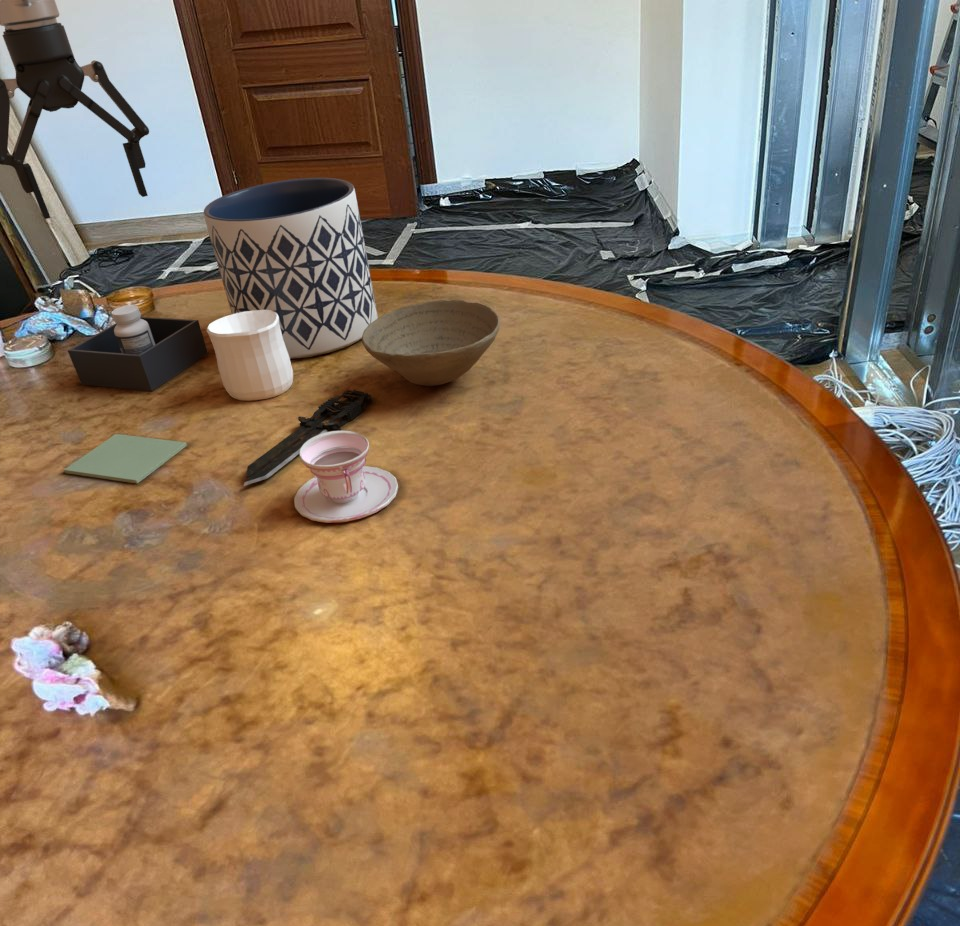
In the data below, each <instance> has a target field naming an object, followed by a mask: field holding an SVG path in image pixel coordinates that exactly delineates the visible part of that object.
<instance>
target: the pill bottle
mask: <svg viewBox="0 0 960 926" xmlns="http://www.w3.org/2000/svg"><path fill="white" fill-rule="evenodd" d="M110 315H111V316H112V319H113V321H114V324H115V323H117V325H116V326H115V328H114V334H115V337H116V339H117V342H118V345H119V347H120V350H121V353H123V354H135V355H140V354H141V353H143V352H144V351H146V350H148V349H149V348H151V347H152V346H154V345H156V344H155V341H154V339H153V336H152V333H151V330H150V327H149V324H148V323H147V322H146V321H145V320H143V319H140V317H142V313H141V310H140V309H139V306H138V305H135V304H127V305H122V306H119V307H116V308H114V309H113V310H112V311H111V314H110Z"/></svg>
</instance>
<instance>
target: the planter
mask: <svg viewBox="0 0 960 926" xmlns="http://www.w3.org/2000/svg"><path fill="white" fill-rule="evenodd" d="M360 215H361V214H360V211H359V205H358V199H357V194H356V189H355V187H354V184H353V183H352V182H350V181H347V180H345V179H340V178H333V177H332V178H331V177H307V178H306V177H305V178H292V179H286V180H278V181H273V182H267V183H263V184H258V185H253V186H249V187H246V188H243V189H238V190H236V191H233V192H229V193H227V194H225V195H222V196H219V197H218V198H216V199H214V200H212V201H211V202H209V203H208V204H206V206H205V207H204V209H203V217H204V221H205V224H206V225H205V226H206V229H207V231H208V236H209V239H210V243H211V246H212V250H213V253H214V257H215V260H216V264H217V267H218V272H219V274H220V278H221V282H222V285H223V289H224V292H225V296H226V300H227V302H228V306H229V310H230V313H231V315H232V314H235V313H240V312H245V311H254V310H271V311H274V312H276V313H277V314H278V316H279V325H280V329H281V333H282V337H283V340H284V343H285V346H286V349H287V352H288V355H289V358H290V360H293V359H294V360H295V359H303V358H304V359H305V358H312V357H317V356H321V355H326V354H329V353H334V352H337V351H339V350H342V349H344V348H347V347H349V346H352V345H354V344H355V343H358V342H359V341H362V336H363V332H364V330H365V329H366V328H367V327H368V326H369V324H371V323H372V322H373V321H375V320H376V319H378V318H379V315H378V310H377V305H376V300H375V293H374V287H373V283H372V275H371V269H370V264H369V260H368V254H367V248H366V243H365V238H364V232H363V227H362V221H361V216H360Z"/></svg>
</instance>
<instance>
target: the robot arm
mask: <svg viewBox="0 0 960 926" xmlns="http://www.w3.org/2000/svg"><path fill="white" fill-rule="evenodd" d="M59 17H60V12H59V9H58V5H57V2H56V0H0V26H1V27H4V31H2V38H3V41H4V43H5V46H6V49H7V51H8V54H9V56H10V59H11V62H12V65H13V69H14V70H15V78H0V165H1V166H10V167H12V168H13V169H14V171H15V173H16V175H17V179H18V181H19V183H20V186H21V188H22V189H23V191H24V192H25V193H26V194H31V193H33V195H34V197H35V200H36V202H37V205H38V208H39V210H40V213H41V215H42V217H43V218H44V220H48V219H51V215H50V212H49V210H48V207H47V205H46V203H45V200H44V197H43V194H42V192H41V190H40V187H39V184H38V182H37V179H36V177H35V174H34V171H33V169H32V166H31V165H30V164H29V162H27V163H25V160H26V157H27V154H28V151H29V148H30V145H31V142H32V139H33V135H34V133H35V130H36V127H37V125H38V121H39V119H40V117H41V114H42V111H43V110H44V111H47V112H50V113H52V112H58V111H59V110H60V109H72V108H75V106H77V105H78V103H80V104H81V105H82V106H84V107H85V108H87V109H88V110H89V111H90V112H92V113H93V114H94V115H95V116H97V117H98V118H99V119H101V121H103V122H104V123H105V124H107V125H108V126H109V127H110V128H112V129H113V130H114V131H115V132H117V133H118V134H119V135H121V136H122V137H123V138H124V139H126V140H127V142H123V143H122V147H123V150H124V153H125V156H126V159H127V163H128V165H129V168H130V171H131V175H132V177H133V180H134V183H135V187H136V190H137V192H138V195H139V196H140V197H142V198H144V197H148V192H147V188H146V186H145V183H144V180H143V177H142V173H141V169H145V168H146V161H145V158H144V154H143V151H142V148H141V145H140V141H141V140H142V138H144V137H145V136H148V135H149V134H150V128H149V127H148V125H147V124H146V123H145V122H144V121H143V120H142V118H141V117H140V116H139V115H138V113H137V112H136V110H134V108H133V107H132V106H131V105H130V104H129V102H128V101H127V100H126V99H125V98H124V96H123V94H121V92H120V91H119V90H118V88H116V86H115V85H114V83H112V82H111V80H110V79H109V76H108V74H107V72H106V69H105V67H104V65H103V63H102V62H101V61H98V60H92V61H91V62H90V63H88V64H85V65H82V66H80V65H79V64H78V63H77V61H76V58H75V55H74V52H73V49H72V46H71V44H70V40H69V37H68V34H67V31H66V28H65V26H64V25H62V22H58V21H57V18H59ZM85 77H89V79H90V80H91V81H92V82H93V83H97V84H99V86H100V87H101V89H102V90H103V91H104V92H105V93H106V95H107V96H108V97H109V98H110V100H112V102H113V103H114V104H115V106H116V107H117V108H118V109H119V111H121V113H122V114H123V115H124V116H125V117H126V119H127V120H128V122H129V123H131V125H132V126H133V128H132V129H130V128H128V127H127V126H126V125H125V124H123V123H122V122H121V121H120V120H118V119H117V118H116V117H115V116H113V115H112V114H111V113H110V112H108V111H107V110H106V109H104V108H103V107H102V106H101V105H100V104H98V103H97V102H96V101H95V100H93V99H92V98H91V97H90V96H89V95H87V94H86V93H85V92H84V91H83V86H84V82H85ZM16 89H19V91H21V92H22V93H23V94H24V95H25V96H27V98H29V101H28V104H27V107H26V112H25V115H24V118H23V121H22V124H21V127H20V130H19V133H18V136H17V139H16V141H15V146H14V148H13V151H12V153H8V146H9V130H10V112H11V102H10V100H11V99H13V98H14V97H15V91H16Z"/></svg>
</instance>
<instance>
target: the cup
mask: <svg viewBox="0 0 960 926" xmlns="http://www.w3.org/2000/svg"><path fill="white" fill-rule="evenodd" d="M206 334H207V335H208V337H209V339H210V341H211V344H212V347H213V350H214V353H215V357H216V363H217V368H218V373H219V375H220V378H221V383H222V385H223V388H224V389H225V391H226V392H227V393H228V395H229V396H230V397H231V398H232V399H235V400H237V401H245V402H247V401H258V400H259V401H260V400H267V399H271V398H275V397H277V396H281V395H283V394H284V393H286V392H288V391H289V390H290V388H291V387H292V386H293V383H294V369H293V366H292V362H291V359H290V358H289V355H288V352H287V349H286V346H285V343H284V340H283V337H282V333H281V329H280V325H279V316H278V314H277V313H276V312H274V311H271V310H254V311H245V312H240V313H235V314H232V313H231V314H229V315H226V316H225V315H224V316H223V317H220V318H217V319H215V320H214V321H211V322H210V323H209V324H208V326H207V328H206Z"/></svg>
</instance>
